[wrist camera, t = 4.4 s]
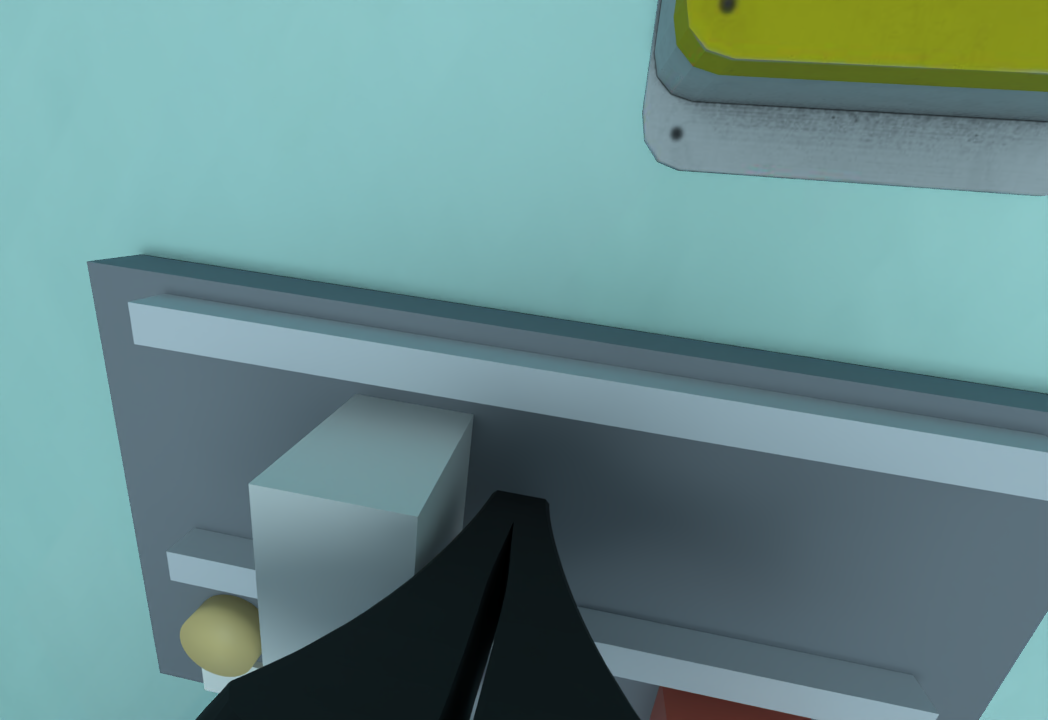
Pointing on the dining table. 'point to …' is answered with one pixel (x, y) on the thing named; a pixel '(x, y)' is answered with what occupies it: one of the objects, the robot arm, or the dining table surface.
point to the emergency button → (853, 91)
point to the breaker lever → (354, 515)
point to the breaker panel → (606, 485)
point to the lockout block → (708, 708)
